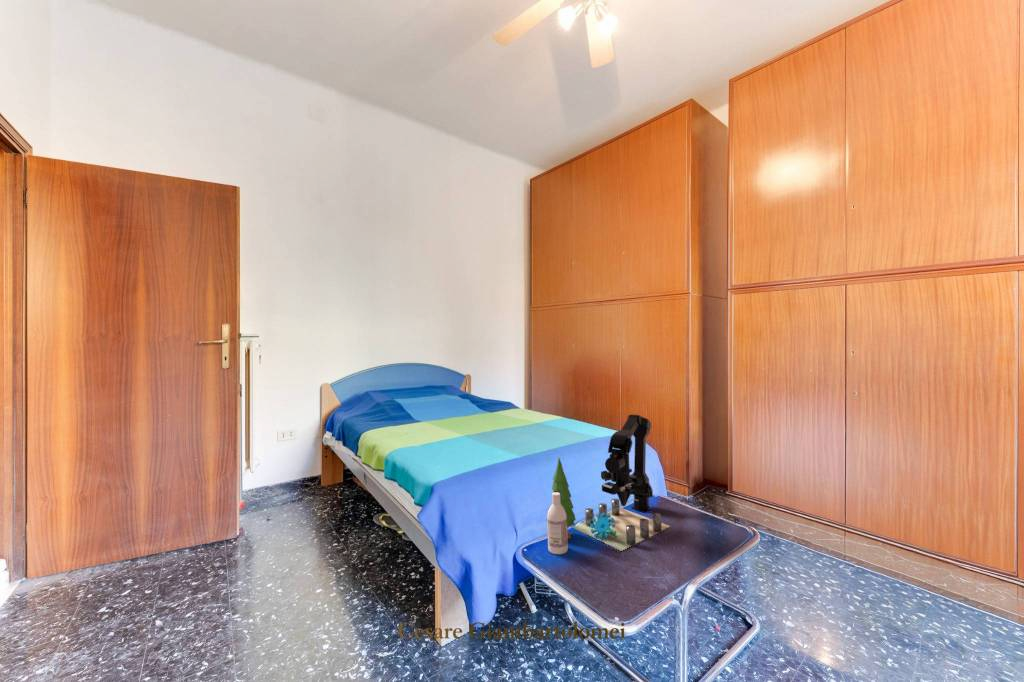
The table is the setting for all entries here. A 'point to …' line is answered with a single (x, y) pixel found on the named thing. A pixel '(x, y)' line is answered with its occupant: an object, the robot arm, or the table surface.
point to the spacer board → (621, 529)
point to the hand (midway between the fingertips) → (623, 505)
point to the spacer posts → (629, 528)
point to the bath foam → (557, 526)
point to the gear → (603, 526)
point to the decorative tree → (564, 494)
